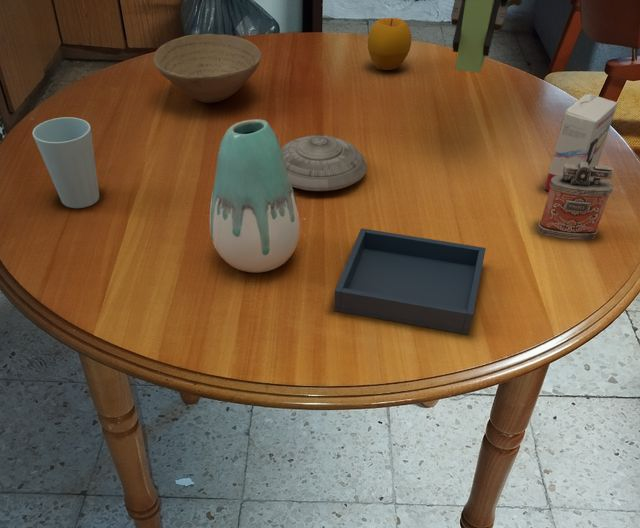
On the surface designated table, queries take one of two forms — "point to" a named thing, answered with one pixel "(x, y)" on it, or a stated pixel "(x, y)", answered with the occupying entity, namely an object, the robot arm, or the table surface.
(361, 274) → the tray
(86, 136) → the cup
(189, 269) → the table surface
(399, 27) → the apple
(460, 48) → the sponge
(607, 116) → the ink box
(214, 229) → the vase
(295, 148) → the flying saucer
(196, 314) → the table surface
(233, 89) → the bowl
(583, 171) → the lighter
